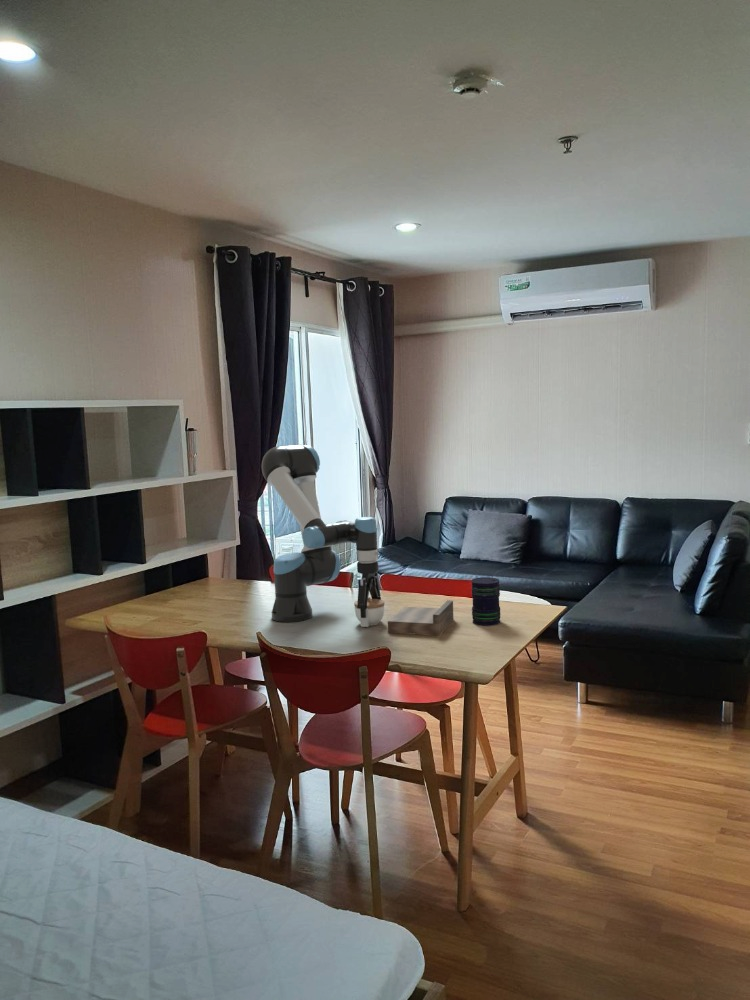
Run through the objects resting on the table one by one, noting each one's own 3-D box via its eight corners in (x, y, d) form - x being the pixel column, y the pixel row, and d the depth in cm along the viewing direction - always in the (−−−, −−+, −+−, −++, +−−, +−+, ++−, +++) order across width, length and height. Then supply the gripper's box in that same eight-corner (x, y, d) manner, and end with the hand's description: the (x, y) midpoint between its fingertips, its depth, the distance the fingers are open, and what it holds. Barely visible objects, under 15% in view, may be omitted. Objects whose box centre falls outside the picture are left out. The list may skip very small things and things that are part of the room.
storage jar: (471, 626, 265) (470, 583, 263) (472, 618, 275) (471, 577, 273) (501, 626, 264) (500, 583, 262) (500, 618, 273) (499, 577, 272)
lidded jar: (382, 627, 268) (381, 601, 267) (352, 627, 270) (350, 601, 269) (387, 619, 278) (386, 594, 277) (358, 619, 280) (357, 594, 279)
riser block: (388, 632, 261) (387, 612, 261) (405, 617, 280) (404, 598, 279) (439, 635, 255) (438, 614, 255) (453, 619, 274) (452, 600, 273)
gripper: (366, 567, 259) (369, 631, 262) (387, 555, 281) (390, 614, 284) (345, 567, 262) (348, 630, 264) (368, 555, 284) (371, 613, 286)
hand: (370, 622), depth 274 cm, fingers closed on lidded jar, 11 cm apart
